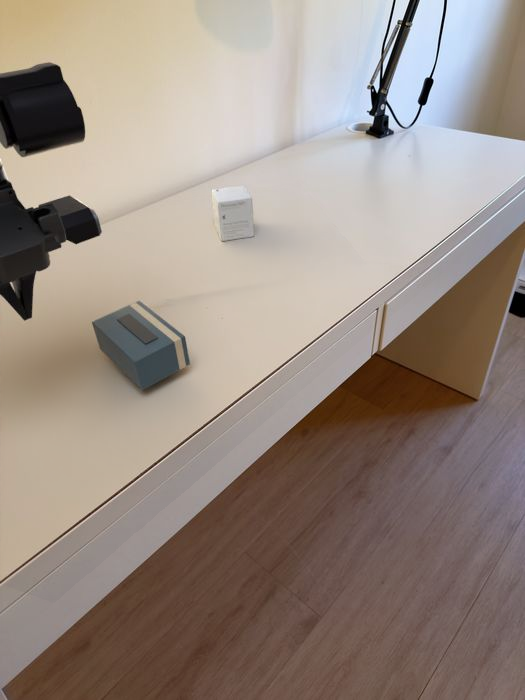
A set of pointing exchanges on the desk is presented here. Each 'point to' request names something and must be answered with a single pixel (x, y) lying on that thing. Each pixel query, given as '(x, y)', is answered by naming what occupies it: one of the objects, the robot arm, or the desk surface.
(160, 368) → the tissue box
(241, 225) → the product box
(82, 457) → the desk surface
